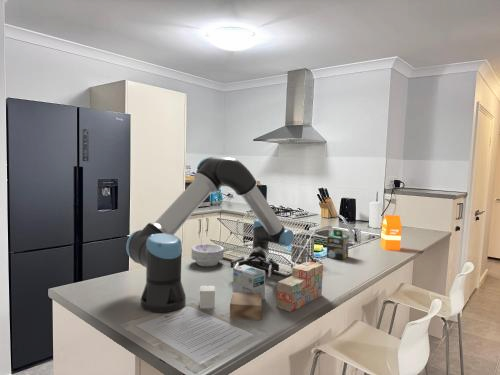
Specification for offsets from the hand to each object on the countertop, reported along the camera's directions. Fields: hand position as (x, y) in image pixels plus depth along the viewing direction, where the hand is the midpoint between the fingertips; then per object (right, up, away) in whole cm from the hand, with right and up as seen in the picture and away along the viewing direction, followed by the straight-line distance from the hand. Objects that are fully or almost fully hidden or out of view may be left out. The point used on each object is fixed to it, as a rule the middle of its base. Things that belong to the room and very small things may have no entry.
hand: (252, 271), depth 141 cm
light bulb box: (-1, -7, -9) cm, 12 cm away
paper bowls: (-21, -3, +31) cm, 38 cm away
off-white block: (-16, -8, -17) cm, 24 cm away
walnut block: (-2, -9, -22) cm, 24 cm away
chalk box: (+46, -4, +50) cm, 68 cm away
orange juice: (+83, -3, +74) cm, 111 cm away
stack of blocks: (+17, -8, -11) cm, 22 cm away
